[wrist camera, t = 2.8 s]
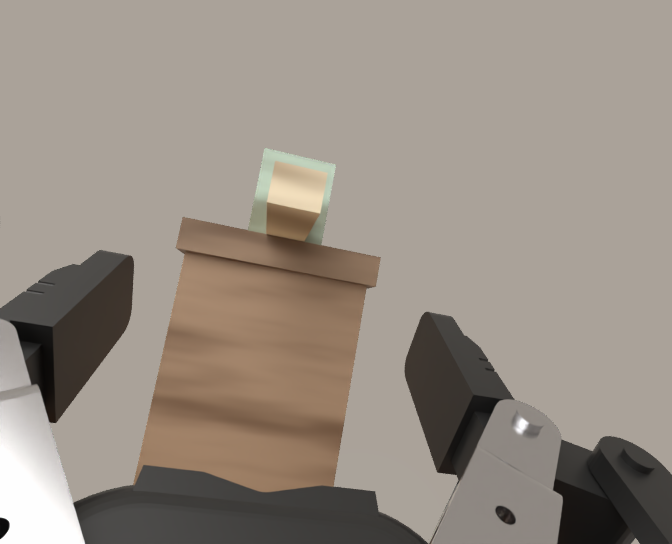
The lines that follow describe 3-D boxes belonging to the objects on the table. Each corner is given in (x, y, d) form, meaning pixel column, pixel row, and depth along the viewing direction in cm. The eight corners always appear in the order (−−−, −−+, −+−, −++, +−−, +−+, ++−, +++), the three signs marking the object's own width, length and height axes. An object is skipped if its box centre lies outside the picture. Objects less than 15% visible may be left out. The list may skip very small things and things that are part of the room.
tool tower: (292, 794, 24) (380, 257, 28) (52, 794, 22) (182, 216, 26) (285, 664, 33) (352, 270, 37) (112, 655, 31) (203, 240, 35)
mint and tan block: (346, 219, 19) (367, 100, 20) (239, 196, 19) (264, 73, 19) (312, 257, 33) (325, 185, 34) (250, 244, 32) (264, 172, 33)
